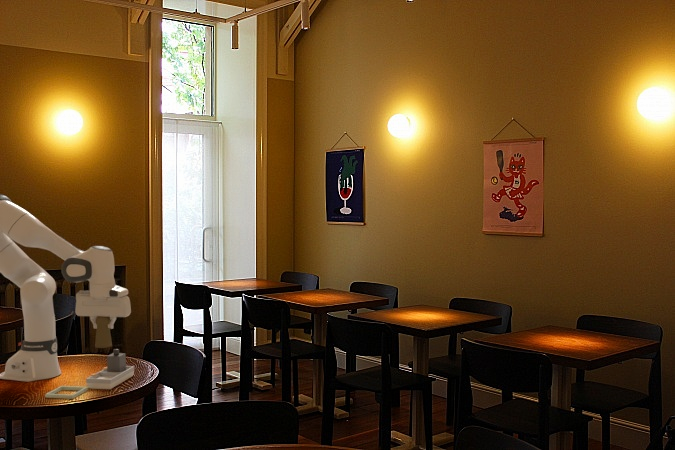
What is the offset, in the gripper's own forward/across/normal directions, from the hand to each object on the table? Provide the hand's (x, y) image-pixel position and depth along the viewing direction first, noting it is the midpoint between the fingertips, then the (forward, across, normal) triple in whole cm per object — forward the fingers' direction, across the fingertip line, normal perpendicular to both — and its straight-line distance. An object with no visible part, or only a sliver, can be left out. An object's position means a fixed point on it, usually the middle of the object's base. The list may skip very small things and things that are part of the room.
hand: (103, 328), depth 262 cm
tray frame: (+21, -8, -12) cm, 26 cm away
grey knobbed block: (+19, 0, +9) cm, 21 cm away
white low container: (+21, 0, +5) cm, 21 cm away
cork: (+7, 0, 0) cm, 7 cm away
